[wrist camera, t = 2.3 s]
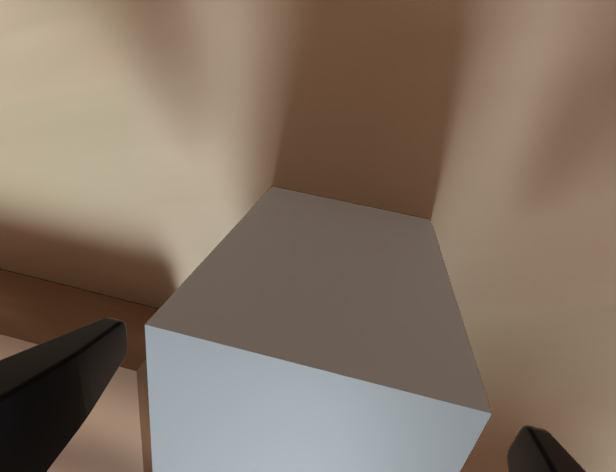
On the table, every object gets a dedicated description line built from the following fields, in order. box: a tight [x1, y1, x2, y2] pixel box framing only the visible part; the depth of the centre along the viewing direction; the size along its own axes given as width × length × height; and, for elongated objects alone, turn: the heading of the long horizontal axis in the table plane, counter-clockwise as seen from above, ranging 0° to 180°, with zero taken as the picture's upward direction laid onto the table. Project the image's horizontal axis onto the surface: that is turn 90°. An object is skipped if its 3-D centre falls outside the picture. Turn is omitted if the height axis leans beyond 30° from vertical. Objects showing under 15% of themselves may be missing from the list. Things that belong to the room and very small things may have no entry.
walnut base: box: [0, 269, 158, 472], centre depth 17 cm, size 13×13×3 cm
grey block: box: [145, 186, 492, 472], centre depth 9 cm, size 5×5×7 cm
